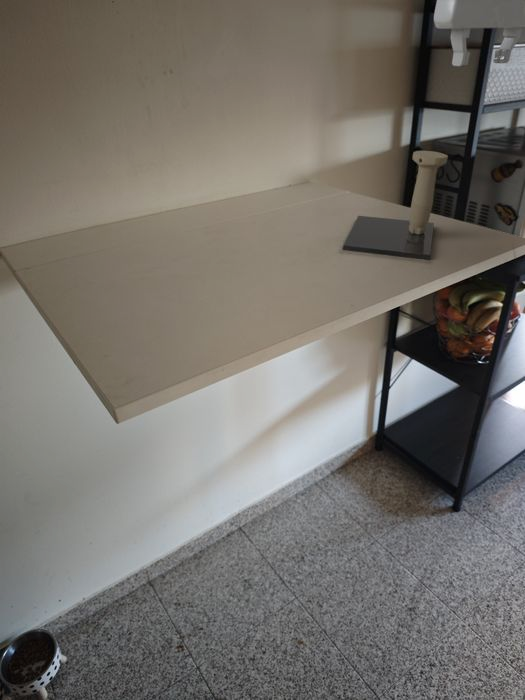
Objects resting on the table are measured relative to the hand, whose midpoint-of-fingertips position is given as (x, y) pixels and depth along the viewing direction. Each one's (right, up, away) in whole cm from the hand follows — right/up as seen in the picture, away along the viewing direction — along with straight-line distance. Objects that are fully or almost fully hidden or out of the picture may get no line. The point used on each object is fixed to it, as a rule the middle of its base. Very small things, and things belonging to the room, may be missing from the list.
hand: (480, 64), depth 75 cm
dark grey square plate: (-7, -21, +25) cm, 33 cm away
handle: (-2, -20, +25) cm, 32 cm away
